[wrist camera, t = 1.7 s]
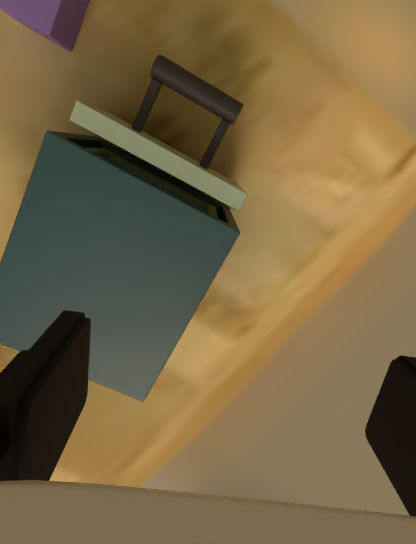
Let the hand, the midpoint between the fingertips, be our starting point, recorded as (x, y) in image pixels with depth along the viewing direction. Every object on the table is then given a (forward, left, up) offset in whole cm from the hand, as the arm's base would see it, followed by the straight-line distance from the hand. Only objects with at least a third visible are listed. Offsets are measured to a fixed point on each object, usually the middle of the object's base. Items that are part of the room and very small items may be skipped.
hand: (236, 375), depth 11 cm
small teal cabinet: (-6, -5, -21) cm, 23 cm away
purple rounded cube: (-18, +9, -21) cm, 29 cm away
